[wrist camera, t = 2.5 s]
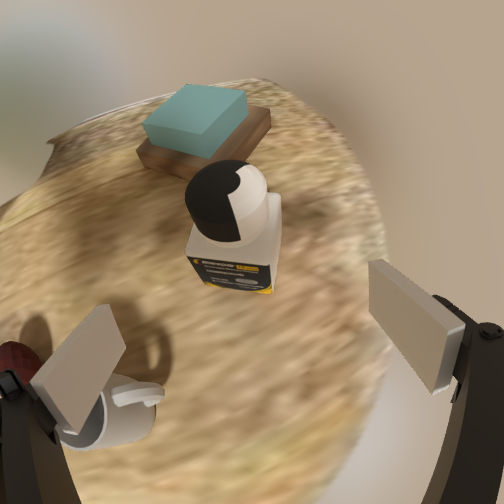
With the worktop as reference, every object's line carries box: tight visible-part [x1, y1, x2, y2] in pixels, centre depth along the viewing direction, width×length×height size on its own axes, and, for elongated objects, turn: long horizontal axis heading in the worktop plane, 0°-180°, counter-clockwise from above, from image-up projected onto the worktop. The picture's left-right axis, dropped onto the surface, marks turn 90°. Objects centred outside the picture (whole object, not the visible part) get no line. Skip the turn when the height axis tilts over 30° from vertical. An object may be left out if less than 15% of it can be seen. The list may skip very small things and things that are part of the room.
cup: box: [55, 373, 165, 451], centre depth 20 cm, size 7×10×9 cm
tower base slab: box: [136, 105, 271, 181], centre depth 39 cm, size 14×14×4 cm
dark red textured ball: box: [0, 341, 43, 387], centre depth 22 cm, size 7×8×7 cm
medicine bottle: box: [185, 160, 282, 294], centre depth 25 cm, size 7×7×12 cm
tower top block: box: [142, 84, 249, 159], centre depth 35 cm, size 10×10×4 cm
